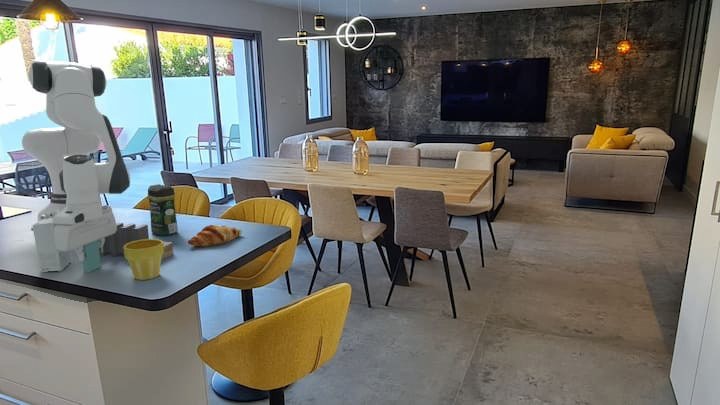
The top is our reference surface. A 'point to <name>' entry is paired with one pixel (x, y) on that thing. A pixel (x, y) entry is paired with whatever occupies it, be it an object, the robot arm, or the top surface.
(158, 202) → the coffee jar
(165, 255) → the end block
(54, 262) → the skincare box
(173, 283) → the top surface
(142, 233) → the domino
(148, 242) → the plant pot
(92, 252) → the domino
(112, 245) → the domino
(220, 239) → the croissant
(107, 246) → the domino
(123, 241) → the domino
